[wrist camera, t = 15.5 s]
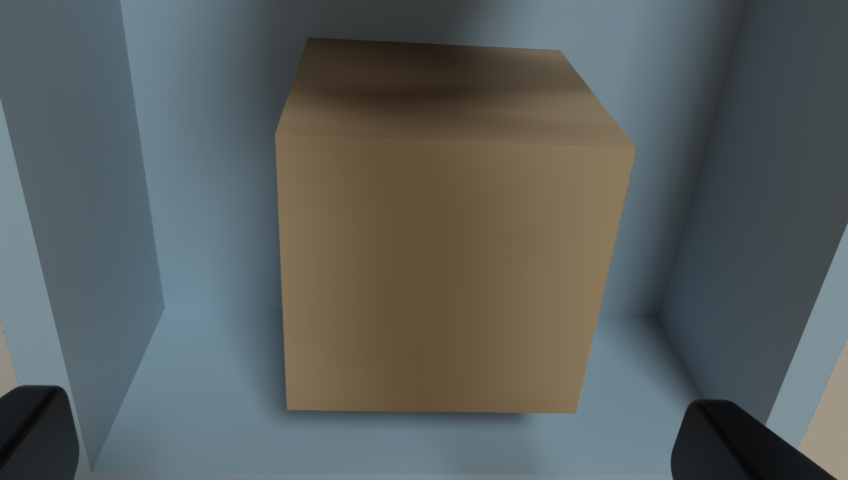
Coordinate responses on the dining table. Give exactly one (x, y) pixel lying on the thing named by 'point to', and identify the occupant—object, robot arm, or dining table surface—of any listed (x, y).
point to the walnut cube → (443, 227)
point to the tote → (260, 243)
